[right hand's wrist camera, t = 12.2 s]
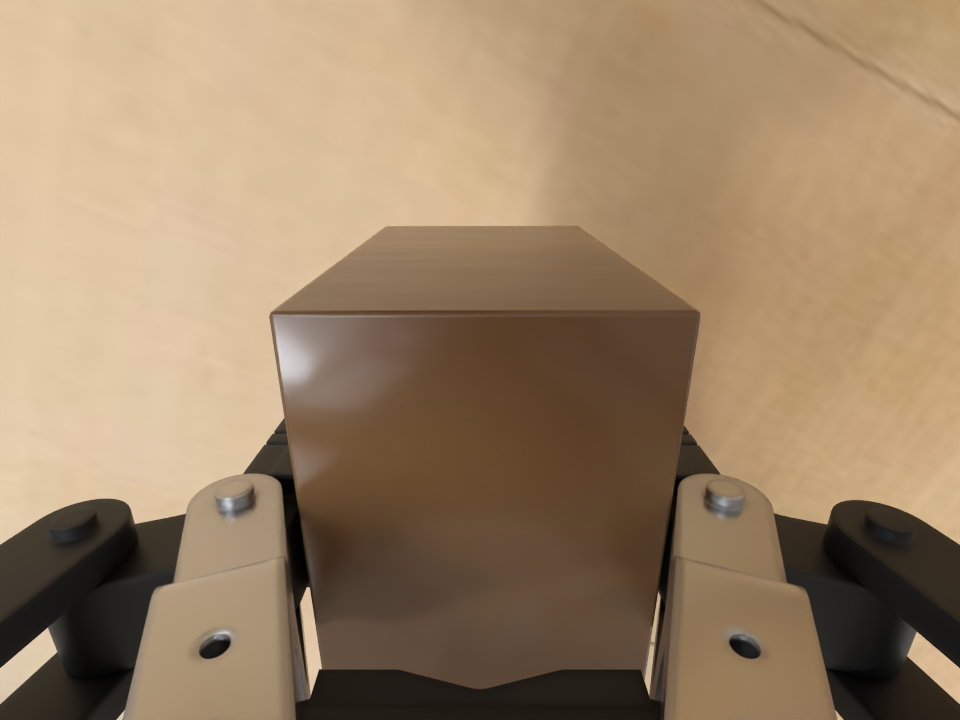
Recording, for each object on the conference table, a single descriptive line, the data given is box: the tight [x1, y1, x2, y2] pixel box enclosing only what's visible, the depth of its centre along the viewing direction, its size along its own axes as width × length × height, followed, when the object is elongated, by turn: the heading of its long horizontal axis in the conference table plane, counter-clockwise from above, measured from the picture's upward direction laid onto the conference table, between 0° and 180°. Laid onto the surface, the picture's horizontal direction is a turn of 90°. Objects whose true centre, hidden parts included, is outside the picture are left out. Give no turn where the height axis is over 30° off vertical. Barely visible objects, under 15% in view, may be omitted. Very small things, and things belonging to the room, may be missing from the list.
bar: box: [269, 226, 700, 689], centre depth 14 cm, size 23×5×8 cm, turn 0°
